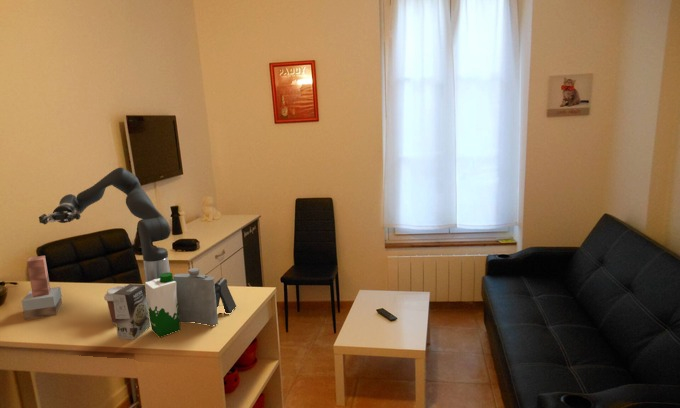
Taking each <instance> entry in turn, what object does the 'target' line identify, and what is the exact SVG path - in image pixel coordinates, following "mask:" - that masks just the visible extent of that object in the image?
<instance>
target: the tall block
mask: <svg viewBox="0 0 680 408" xmlns="http://www.w3.org/2000/svg"><path fill="white" fill-rule="evenodd" d="M26 264H27V271H28V275H29V281H30V288H31V289H30V290H32V295H33V297H37V296H43V295H49V293H50V288H51V284H50V278H49V273H48V266H47V260H46V255H40V256H32V257H29V258H28V259H27V261H26Z"/></svg>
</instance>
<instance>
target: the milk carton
mask: <svg viewBox="0 0 680 408" xmlns="http://www.w3.org/2000/svg"><path fill="white" fill-rule="evenodd" d="M173 275H174V274H173V273H172V272H170V273H163V274H161V275H160V278H159V279H154V280H152V281H149V282H146V281H145V282H144V285H145V288H146V296H147V304H148V312H149V320H150V327H151V331H152V330H153V331H154V332H155V333H156V334H157V335H158V336H159V337H160V338H162V337H161V336H163V337H165V336H164V335H166V336H168V335H167V334H169V335H171V334H173V333H172V332H174V333H176V332H175V331H177V332H179V331H178V330H180V331H181V325H180V324H181V322H179V312H178V302H177V293H176V281H175V280H174V278H173ZM153 331H152V332H153ZM154 332H153V333H154ZM170 333H171V334H170ZM156 334H155V335H156ZM158 336H157V337H158ZM159 337H158V338H159Z"/></svg>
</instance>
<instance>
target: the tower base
mask: <svg viewBox="0 0 680 408" xmlns="http://www.w3.org/2000/svg"><path fill="white" fill-rule="evenodd" d="M62 305H63V301H62V297H61V298H60V300H59V301H58V302H57V304H56V305H55V306H54V307H47V308H40V309H33V310H26V311H23V315H24V320H25V321H27V320H28V321H29V320H33V319H40V318H41V319H42V318H46V317H51V316H57V315H58V313H59V311H60V309H61V307H62Z"/></svg>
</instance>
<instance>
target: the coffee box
mask: <svg viewBox="0 0 680 408" xmlns="http://www.w3.org/2000/svg"><path fill="white" fill-rule="evenodd" d="M124 286H125V287H124V288H122V289H120V290H118V291H117V292H115V293H113V302H114V310H115V318H116V324H115V326H116V331H117V332H116V333H117V338H118V339H125V340H133V341H134V340H135V339H137V338H138V337H139V336H141V335H142V334H143V333H145V330H146V329H147V330H149V329H150V328H149V327H151V323H150V317H149V310H148V302H147V293H146V286H145V284H142V283H141V284H140V283H139V284H138V283H129V284H126V285H124ZM147 330H146V331H147Z"/></svg>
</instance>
